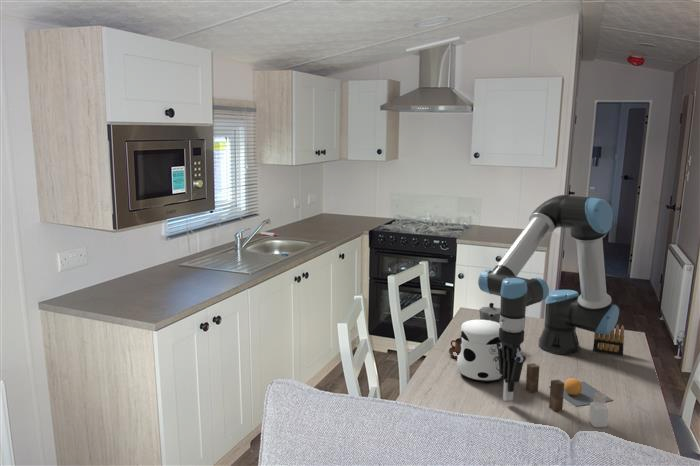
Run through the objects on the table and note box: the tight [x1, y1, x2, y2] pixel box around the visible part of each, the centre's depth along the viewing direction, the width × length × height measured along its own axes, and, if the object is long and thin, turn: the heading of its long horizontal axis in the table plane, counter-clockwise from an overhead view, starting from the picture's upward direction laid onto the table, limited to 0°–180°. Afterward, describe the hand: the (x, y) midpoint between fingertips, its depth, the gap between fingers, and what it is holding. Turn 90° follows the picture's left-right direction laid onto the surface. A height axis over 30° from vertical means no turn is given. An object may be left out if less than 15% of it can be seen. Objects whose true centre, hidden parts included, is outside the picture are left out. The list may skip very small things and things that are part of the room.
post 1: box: [525, 362, 540, 394], centre depth 187 cm, size 3×3×9 cm
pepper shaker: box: [588, 392, 609, 428], centre depth 165 cm, size 4×4×10 cm
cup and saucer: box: [448, 337, 461, 359], centre depth 216 cm, size 12×12×6 cm
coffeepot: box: [478, 302, 500, 323], centre depth 225 cm, size 15×9×18 cm, turn 167°
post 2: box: [548, 379, 565, 412], centre depth 174 cm, size 3×3×9 cm
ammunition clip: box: [592, 324, 625, 356], centre depth 218 cm, size 11×2×12 cm, turn 65°
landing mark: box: [548, 380, 614, 408], centre depth 185 cm, size 14×14×1 cm
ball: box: [564, 377, 582, 395], centre depth 184 cm, size 6×6×6 cm
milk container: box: [456, 319, 503, 383], centre depth 198 cm, size 17×17×18 cm
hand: (507, 399), depth 177 cm, fingers closed
